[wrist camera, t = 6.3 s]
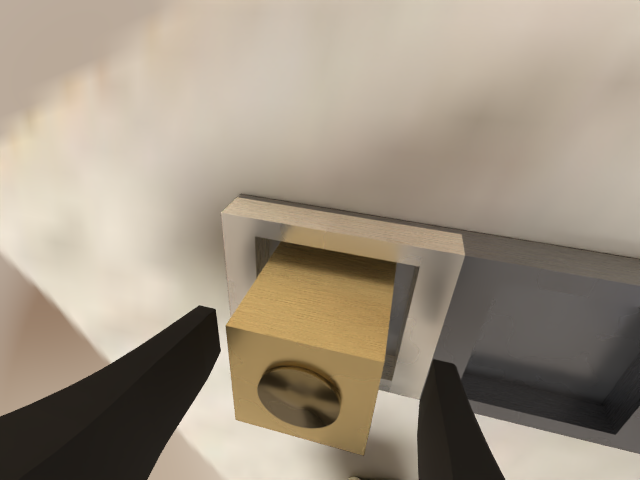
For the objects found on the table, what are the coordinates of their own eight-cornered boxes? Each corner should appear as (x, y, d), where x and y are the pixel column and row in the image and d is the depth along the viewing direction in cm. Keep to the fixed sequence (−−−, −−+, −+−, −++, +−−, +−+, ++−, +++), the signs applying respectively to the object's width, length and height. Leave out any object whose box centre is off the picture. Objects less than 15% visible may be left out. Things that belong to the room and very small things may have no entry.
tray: (737, 275, 11) (780, 310, 10) (623, 415, 15) (643, 454, 13) (240, 193, 14) (220, 212, 13) (248, 328, 18) (234, 354, 16)
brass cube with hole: (397, 253, 13) (383, 368, 9) (380, 337, 15) (363, 462, 11) (285, 233, 14) (222, 330, 10) (284, 316, 16) (233, 425, 12)
